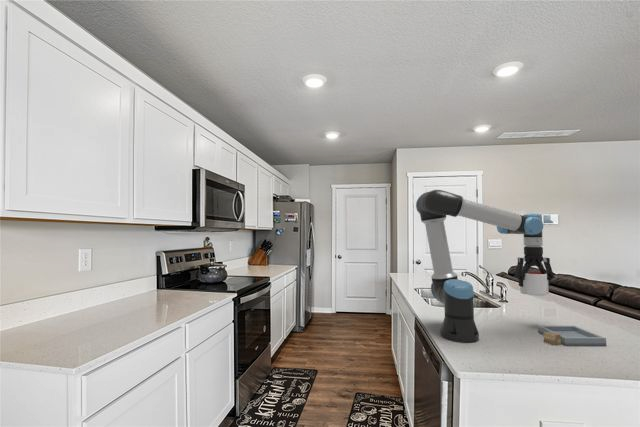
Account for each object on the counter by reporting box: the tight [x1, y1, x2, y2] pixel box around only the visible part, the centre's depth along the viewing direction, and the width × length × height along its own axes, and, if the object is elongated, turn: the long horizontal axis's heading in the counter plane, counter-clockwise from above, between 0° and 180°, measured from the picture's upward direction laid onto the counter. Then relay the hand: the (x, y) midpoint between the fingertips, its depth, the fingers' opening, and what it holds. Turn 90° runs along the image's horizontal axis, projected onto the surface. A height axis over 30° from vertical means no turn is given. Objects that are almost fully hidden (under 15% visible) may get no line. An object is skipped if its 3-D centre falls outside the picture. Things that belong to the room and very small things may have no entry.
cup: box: [523, 270, 548, 297], centre depth 151 cm, size 10×10×10 cm
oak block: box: [543, 331, 562, 346], centre depth 129 cm, size 4×4×4 cm
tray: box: [537, 325, 607, 347], centre depth 134 cm, size 16×16×3 cm
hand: (534, 293), depth 151 cm, fingers closed on cup, 10 cm apart
